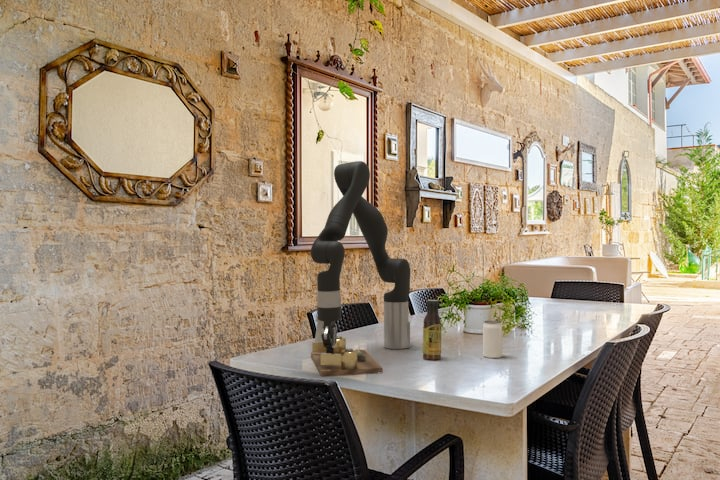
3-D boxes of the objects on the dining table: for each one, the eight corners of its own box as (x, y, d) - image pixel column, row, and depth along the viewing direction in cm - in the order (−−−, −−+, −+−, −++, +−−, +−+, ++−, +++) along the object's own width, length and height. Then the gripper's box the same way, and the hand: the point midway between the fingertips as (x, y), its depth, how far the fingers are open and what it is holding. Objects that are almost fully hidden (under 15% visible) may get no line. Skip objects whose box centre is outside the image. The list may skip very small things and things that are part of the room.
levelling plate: (364, 353, 209) (364, 340, 209) (382, 372, 181) (382, 357, 181) (311, 356, 206) (310, 343, 206) (320, 376, 177) (320, 360, 177)
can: (503, 355, 204) (503, 320, 204) (501, 359, 198) (501, 323, 198) (484, 354, 206) (484, 320, 206) (482, 358, 200) (481, 322, 200)
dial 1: (345, 351, 205) (345, 335, 205) (346, 354, 200) (346, 338, 200) (312, 352, 204) (312, 336, 204) (312, 355, 199) (312, 339, 199)
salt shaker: (327, 352, 212) (327, 316, 212) (312, 352, 213) (311, 316, 213) (331, 349, 218) (331, 314, 218) (316, 349, 219) (316, 314, 219)
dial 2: (359, 366, 183) (358, 348, 183) (355, 369, 178) (355, 351, 178) (323, 364, 185) (323, 346, 185) (318, 368, 181) (318, 349, 180)
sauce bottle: (429, 361, 196) (428, 301, 196) (419, 357, 202) (418, 299, 201) (445, 359, 199) (445, 300, 199) (435, 355, 205) (434, 298, 204)
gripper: (336, 308, 177) (337, 365, 178) (344, 301, 190) (346, 354, 191) (312, 308, 178) (313, 364, 179) (322, 301, 192) (323, 354, 192)
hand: (330, 359), depth 185 cm, fingers closed
